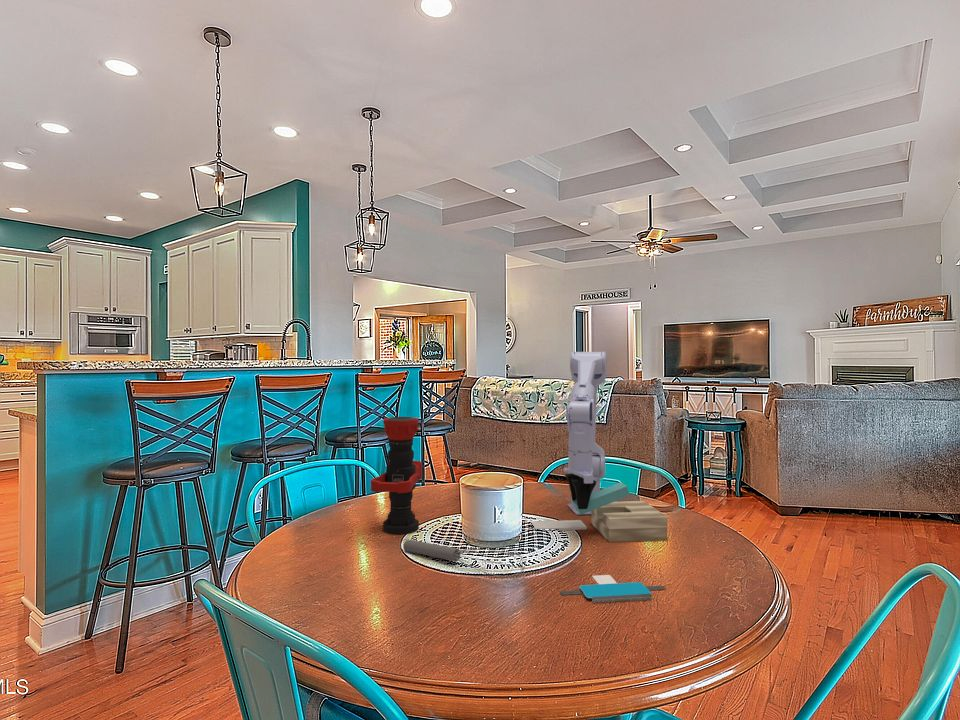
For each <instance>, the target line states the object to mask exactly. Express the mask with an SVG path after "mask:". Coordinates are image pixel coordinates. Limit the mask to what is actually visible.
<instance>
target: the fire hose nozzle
mask: <svg viewBox="0 0 960 720" xmlns="http://www.w3.org/2000/svg"><path fill="white" fill-rule="evenodd" d="M382 421H383V423H382V424H383V427H384V429H383V430H384V432H385V435H386V436H387V438H388V446H389V450H387V451H388V452H387V460H388V465H387V466H386V467H385V472H383V473H382V474H380V475H378V476H376V477H373V478H371V479H370V491H371V492H374V493H380V492H383V493H387V492H388V499H389V501H390V511H389V512H388V514H387V518H386V519H385V520H384V521H383V522H382V532H384V533H386V534H390V535H409V534H412V533H414V532H415V533H416V532H417V531H418V530H419V528H420V527H419V525H420V524H419V523H420V521H419V519H417V518H416V514H415V513H414V512H413V511H412V500H413V497H414V494H413V490H414V489H416V488H417V487H416V484H417V483H418V482H419V481H420V480H422V479H423V464H422V463H423V462H422V461H420V460H414V458H415V452H414V450H413V445H414V438H415V435H416V433H417V432H418V428H419V427H418V426H419V425H418V424H419V418H418V417H413V416H412V417H410V416H392V417H385V418H383V419H382Z"/></svg>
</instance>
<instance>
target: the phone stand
mask: <svg viewBox="0 0 960 720" xmlns="http://www.w3.org/2000/svg"><path fill="white" fill-rule="evenodd" d="M591 578H593V580H594V581H595V583H597V584H581V585H579V586H578V588H579V589H574V590H573V589H572V590H559V593H560V594H561V596H566V595H567V596H568V595H574V596H576V595H577V596H578V595H582V596H583V597H584V598H587V599H588V600H589V601H592V604H599V603H600V604H601V603H618V602H619V603H620V602H623V603H624V602H637V601H640V602H641V601H651V600H652V599H651V598H652V594H653V593H652V592H651V591H657V590H667V588H666V587H665V586H663V585H644V584H643V583H642V582H641V581H640V582H639V581H638V582H637V581H635V582H634V581H633V582H617V581H616V580H615V579H614V578H613V577H612V575H610V574H601V575H592V576H591Z"/></svg>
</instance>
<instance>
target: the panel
mask: <svg viewBox="0 0 960 720" xmlns="http://www.w3.org/2000/svg"><path fill="white" fill-rule="evenodd" d="M531 523H532V525H533V526H534V528H535V529H559V530H558V531H580V530H584V531H586V530H588V526H587V525H586V524H585V523H584V522H583V521H582V520H581V519H570V520H569V519H568V520H567V519H565V520H564V519H563V520H537V521H534V520H533V521H530V524H531ZM532 525H531V526H532ZM533 526H532V527H533ZM534 528H533V529H534Z"/></svg>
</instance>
